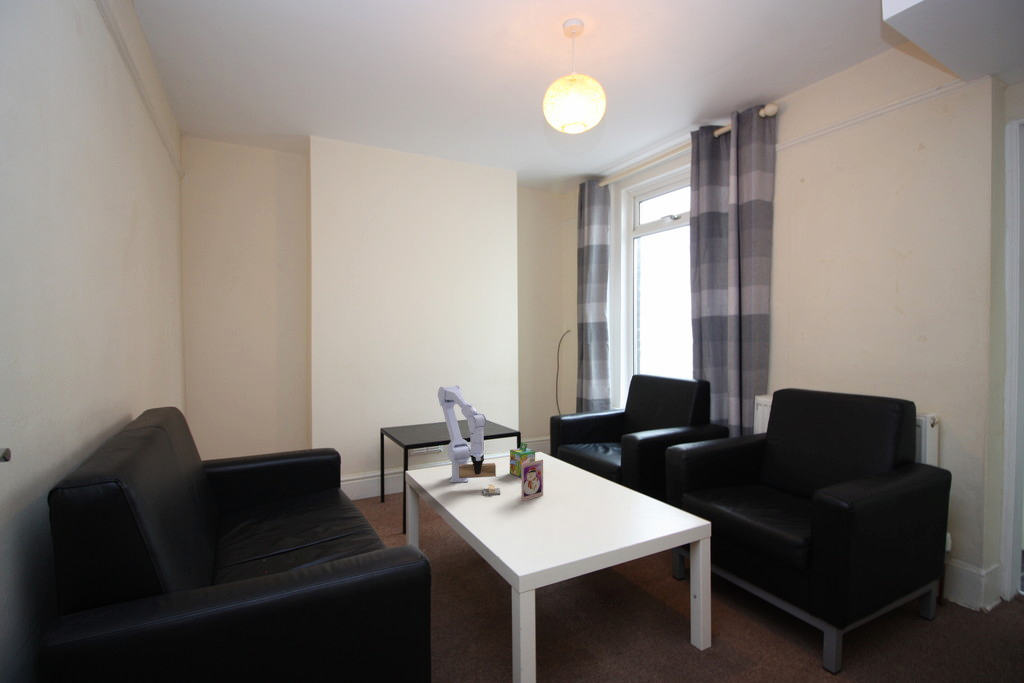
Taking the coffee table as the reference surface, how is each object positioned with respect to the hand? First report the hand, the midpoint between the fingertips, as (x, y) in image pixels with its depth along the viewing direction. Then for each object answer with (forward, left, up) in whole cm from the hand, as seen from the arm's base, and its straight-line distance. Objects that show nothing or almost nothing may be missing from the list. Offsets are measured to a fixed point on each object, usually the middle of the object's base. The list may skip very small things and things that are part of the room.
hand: (477, 472), depth 205 cm
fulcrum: (+7, +6, -7) cm, 11 cm away
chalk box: (-18, +22, -7) cm, 29 cm away
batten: (0, 0, -2) cm, 2 cm away
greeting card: (+13, +21, -7) cm, 26 cm away
